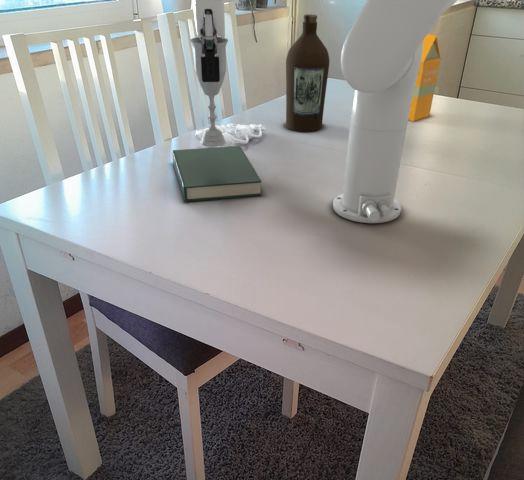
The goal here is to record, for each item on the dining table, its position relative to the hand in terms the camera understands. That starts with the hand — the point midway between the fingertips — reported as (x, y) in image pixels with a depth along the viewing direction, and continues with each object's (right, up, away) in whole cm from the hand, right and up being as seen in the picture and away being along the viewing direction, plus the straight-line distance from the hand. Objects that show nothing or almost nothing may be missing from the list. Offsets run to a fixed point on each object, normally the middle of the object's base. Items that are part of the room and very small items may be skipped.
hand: (210, 76), depth 100 cm
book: (0, -15, +12) cm, 20 cm away
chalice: (0, -10, +8) cm, 12 cm away
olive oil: (+20, +8, +41) cm, 47 cm away
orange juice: (+51, +15, +51) cm, 73 cm away
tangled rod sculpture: (+2, 0, +32) cm, 32 cm away
